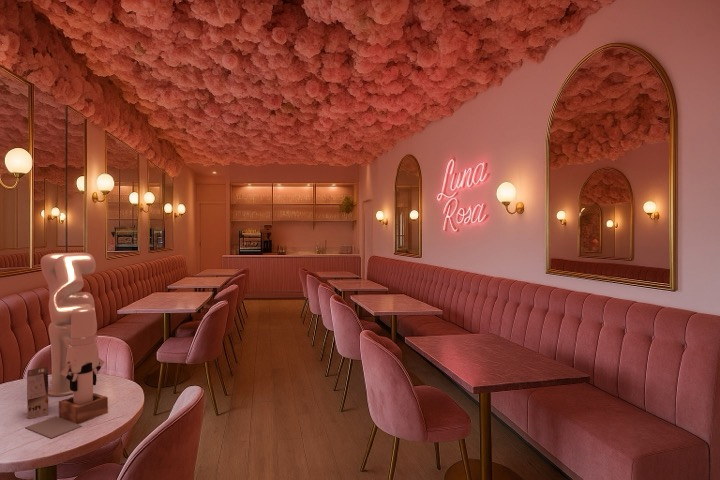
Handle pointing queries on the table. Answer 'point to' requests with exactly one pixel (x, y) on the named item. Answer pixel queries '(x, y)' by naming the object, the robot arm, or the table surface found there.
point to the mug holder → (83, 409)
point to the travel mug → (84, 386)
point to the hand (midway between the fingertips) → (83, 387)
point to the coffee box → (37, 392)
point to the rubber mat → (53, 427)
